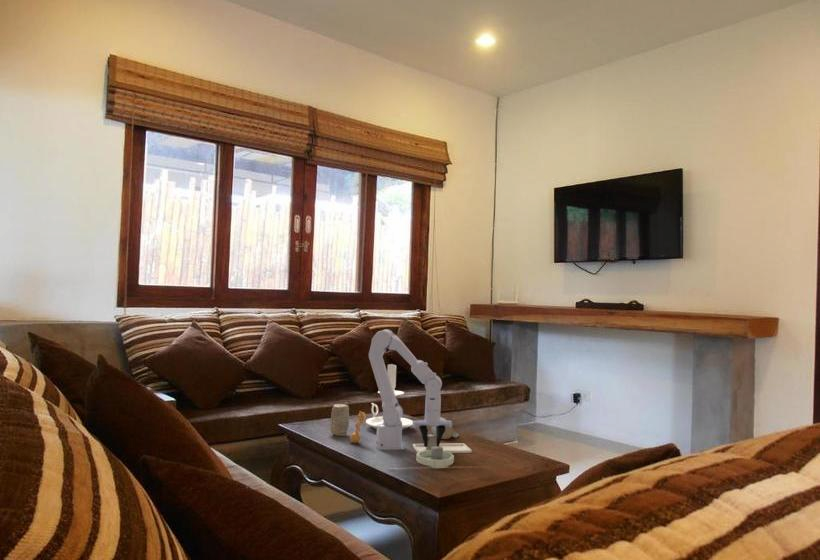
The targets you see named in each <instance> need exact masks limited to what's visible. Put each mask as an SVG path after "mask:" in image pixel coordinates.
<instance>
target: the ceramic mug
mask: <svg viewBox="0 0 820 560" xmlns="http://www.w3.org/2000/svg"><path fill="white" fill-rule="evenodd" d="M440 420H447V419H446V418H444V417H441V416H440ZM445 428H446V429H445V432H444V434H443V436H442V438H441V440H449V439H450V438H452V437H453V438H455V439H456V438H458V437H459V433H457V432H456V431H454V426H452V427H449V426H445ZM430 430H431V433H432V435H436V427H430Z"/></svg>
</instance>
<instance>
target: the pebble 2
mask: <svg viewBox="0 0 820 560" xmlns="http://www.w3.org/2000/svg"><path fill="white" fill-rule="evenodd" d="M431 459H434V460H443V448H442V447H439V446H434V447H431Z"/></svg>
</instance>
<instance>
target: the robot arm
mask: <svg viewBox="0 0 820 560" xmlns="http://www.w3.org/2000/svg"><path fill="white" fill-rule="evenodd" d="M387 349H389V350H392V351H396V352H397V353H398V354H399V356H401V357H402V358H403V360H405V361H406V362H407V363H408V364H409V365H410V366H411V367H410V371H411V373H412V374H413V375H414V376H415V377H416V378H417V380H418V381H419V382H421V384H423V385H424V389H425V390H426V391H425V392H426V393H425V394H426V395H425V399H424V401H425V404H424V405H425V406H424V419H420V420H412V421H413V425H412V428H417V427H418V428H419V430H420V433H421V436H422V442H423V444H424V446H425V447H427V435H429V434H428V433H429V432H428V431H429V429H428V428H429V427H430V428H431V427H436V435H437V446H439V444H441V440H442V439H441V438H442V436H443V434H444V432H445V429H446V428H445V426H449V427H453V421H451V420H447V419H446V420H440V417H441V410H442V409H441V407H442V404H441V403H442V402H441V401H442V397H441V394H442V392H441V389H442V386H443V381H442V379H441V377H440V376H439V375H437V373H436V372H433V371H432V369H430V367H429V366H428V365H429V364H428V362H427V361H425V362H424V360H421V359H417V358H416V356H415V355H414V354H413V353H412V352H411V351H410V349H409V348H408V347H407V345H406V344H405V343H404V342H403V340H402V339H400V337H399V336H398V335H396V334H395V333H394V332H393V331H392V330H391V329H386V328H385V329H383V330H379V331H377V332H376V333H375V334H374V335H373V337H372V338H371V343H370V348H369V351H368V359H369V362H370V365H371V370H372V372H373V375H374V379H375V381H376V386H377V388H378V391H379V392H380V393H379V395H380V398H381V408H382V417H383V420H384V422H383V424H378V425H377V429H376V436H375V437H376V438H375V439H376V440H375V444H376V445H375V446H376V448H377V449H378V450H379V451H381V450H385V451H386V450H404V449H405V448H404V447H403V445H402V444H403V443H402V438H403V430H402V422H401V420H400V418H403V415H404V410H403V407H402V406H401V405H400V404H399V401H398V398H397V396H396V397H395V396H394V393H393V389H392V386H391V383H390V379H389V376H388V373H387V372H388V369H387V367H386V364H385V360H384V357H383V356H384V354H385V353H386V351H387Z"/></svg>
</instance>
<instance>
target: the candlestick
mask: <svg viewBox="0 0 820 560" xmlns="http://www.w3.org/2000/svg"><path fill="white" fill-rule="evenodd" d="M387 373H388V376H389V379H390V383H391V386H392V389H393V393H394V396H395V397H396V398H397V397H398V396H401V395H405V392H404V391H401V390H396V389H395V388H396V385H397V384H396V383H397V365H396V364H387ZM377 393H378V394H380V392H379V390H378V391H377ZM374 407H375V411H374ZM371 413H372V417H370V418H367V420H366V423H365V424H367V425H369V426H371V427H372V428H373V429H376V430H377V425H378V424H383V422H384V420H383V416H377V415H378V413H379V407H378V405H377V404H376V403H374V402H371ZM400 420H401V422H402V431H403V430H406V429H407V428H409V427H411V426H413V421H414V420H412V419H409V418H406V417H401V418H400Z"/></svg>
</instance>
